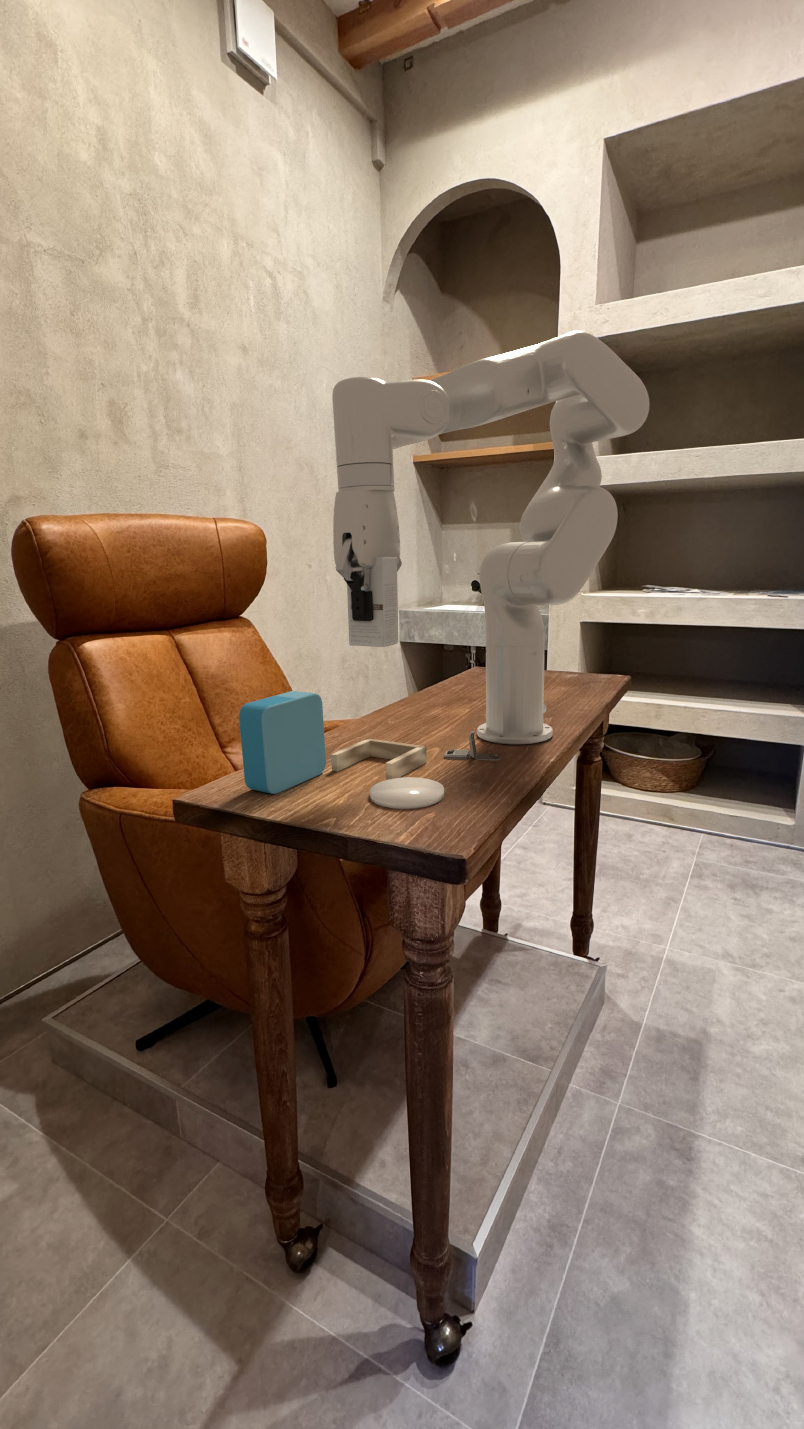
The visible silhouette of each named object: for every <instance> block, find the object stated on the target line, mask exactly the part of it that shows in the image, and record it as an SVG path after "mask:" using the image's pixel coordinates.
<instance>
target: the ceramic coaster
mask: <svg viewBox="0 0 804 1429" xmlns="http://www.w3.org/2000/svg"><path fill="white" fill-rule="evenodd" d="M444 797H445V787H444V785H443V784H442V783H440V782H438V781H436V780H433V779H430V778H423V777H411V776H408V777H406V776H405V777H399V778H394V779H389V780H386V779H385V780H382V781H380V782H377V783H376V784H374V785H373V786H371V787H370V788H369V799H370V800H371V801H372V803H374V804H376V805H378V806H380V807H383V808H390V809H394V810H395V809H396V810H412V809H420V808H424V807H430V806H432V805H435V804H437V803H439V802H441V801H442V800H443V799H444Z"/></svg>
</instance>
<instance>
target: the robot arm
mask: <svg viewBox="0 0 804 1429" xmlns="http://www.w3.org/2000/svg"><path fill="white" fill-rule="evenodd" d="M331 394H332V397H331V398H332V399H331V400H332V413H333V428H334V430H333V431H334V443H335V444H334V445H335V458H336V474H337V476H336V478H337V488H338V491H336V492H335V498H334V504H333V505H334V506H333V517H332V518H333V520H332V523H333V527H332V528H333V529H332V530H333V531H332V533H333V535H332V537H333V538H332V540H333V541H332V542H333V543H332V544H333V559H334V560H333V561H334V564H335V569H336V570H335V571H336V572H337V573H338V574H339V575H340V576H341V577H342V578H343V580H344V581H345V584H346V589H347V588H348V591H350V592H351V605H352V619H353V620H354V621H372V620H373V618H374V617H373V599H372V591H368V590H369V580H370V568H373V567H374V566H375V564H376V558H378V557H397V573H398V572H399V570H400V569H401V567H402V565H403V563H402V560H401V540H400V539H401V538H400V536H401V534H400V526H399V518H398V508H397V503H396V499H395V498H396V496H395V474H394V473H395V472H394V470H395V468H394V452H393V450H396V449H399V448H402V447H405V446H410V445H413V444H418V443H421V442H426V441H429V440H431V439H433V438H435V437H437V436H438V435H441V434H445V433H450V432H455V431H459V430H466V429H472V428H476V427H479V426H483V425H486V424H491V423H493V422H497V421H499V420H502V419H505V418H508V417H511V416H514V415H517V414H520V413H524V412H528V411H530V410H533V409H535V408H539V407H541V406H545V405H548V404H551V403H554V402H555V403H554V405H553V407H552V409H551V412H550V416H549V430H550V437H551V441H552V445H553V446H552V447H553V452H554V453H553V454H554V455H553V457H554V458H553V464H552V466H551V469H550V471H549V472H548V474H547V475H546V478H545V479H544V480H543V482H542V483H541V485H540V486H539V488H538V490H537V491H536V492H535V494H534V495H533V497H532V498H531V500H530V501H529V502H528V505H527V506H526V508H525V510H524V511H523V513H522V516H521V518H520V520H519V529H518V530H519V533H520V538H521V540H522V541H516V542H515V541H512V542H506V543H503V544H498V545H497V546H495V547H493V548H492V549H490V550H489V551H488V552H487V553H486V554H485V556H484V557H483V558H482V561H481V563H480V567H479V574H478V575H479V576H478V577H479V586H480V587H479V588H480V591H481V597H482V602H483V608H484V617H485V706H486V707H485V718H486V720H485V722H484V723H481V724H480V725H479V726H477V728H476V735H477V736H478V737H479V738H480V739H482V740H484V741H486V742H490V743H496V744H503V745H504V744H505V745H527V744H528V745H529V744H536V743H540V742H541V743H542V742H546V741H547V740H550V739H551V738H552V737H553V734H554V733H553V732H554V730H553V727H552V726H550V725H549V724H546V723H544V713H546V711H547V705H546V704H545V702H544V699H545V696H544V693H545V642H546V631H545V625H544V620H543V617H542V613H541V611H540V609H539V607H538V605H541V606H560V605H563V604H566V603H569V602H570V601H572V600H573V599H574V598H575V597H576V596H578V595H579V593H580V592H581V590H582V589H583V588H584V586H585V585H586V583H587V581H588V580H589V578H590V576H591V575H592V574H593V572H594V570H595V568H596V567H597V565H598V563H599V562H600V560H601V559H602V557H603V555H604V554H605V552H606V550H607V548H608V547H609V545H610V544H611V542H612V540H613V538H614V536H615V533H616V529H617V526H618V525H617V524H618V507H617V503H616V500H615V498H614V497H613V496H614V495H612V493H610V492H609V490H607V489H606V488H604V487H601V483H602V477H603V475H602V470H601V466H600V464H599V461H598V459H597V456H596V452H595V448H594V444H593V443H596V442H600V441H601V442H602V441H606V440H610V439H615V438H621V437H626V436H627V435H631V434H633V433H635V432H636V431H638V430H639V429H640V428H641V427H642V426H643V425H644V423H645V422H646V421H647V418H648V415H649V412H650V397H649V392H648V390H647V388H646V386H645V384H644V383H643V381H642V379H641V378H640V377H639V376H638V375H637V374H636V373H635V371H634V370H632V369H631V367H630V366H629V365H628V364H626V363H625V362H624V361H623V360H622V358H621V357H620V356H618V355H617V354H616V353H615V352H614V350H612V348H610V347H609V346H608V345H607V344H606V343H604V342H603V341H602V340H600V339H599V338H598V337H596V336H595V335H594V334H592V333H589V332H587V331H585V330H573V331H569V332H567V333H565V334H562V335H560V336H557V337H553V338H551V339H548V340H546V341H542V342H540V343H538V344H534V345H530V346H526V347H523V348H520V349H516V350H513V351H509V352H505V353H502V354H497V355H494V356H489V357H485V358H481V359H478V360H476V361H473V362H470V363H467V364H464V365H462V366H460V367H458V368H455V369H454V370H451V371H450V372H447V373H444V374H442V375H440V376H438V377H435V378H431V379H430V380H428V379H423V378H422V379H420V378H419V379H406V380H387V381H386V380H382V379H380V378H377V377H371V376H355V377H354V376H353V377H349V378H345V379H342V380H340V381H338V382H337V383H335V385H334V387H333V389H332V393H331ZM356 563H359V565H360V566H361V567H356ZM358 573H362V575H361V577H360V576H359V574H358ZM347 585H348V586H347Z"/></svg>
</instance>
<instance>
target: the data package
mask: <svg viewBox="0 0 804 1429" xmlns="http://www.w3.org/2000/svg"><path fill="white" fill-rule="evenodd" d="M323 708H324V707H323V700H322V696H320V694H318V693H316V692H308V691H300V690H299V691H296V690H291V691H287V692H284V693H280V694H276V695H272V696H269V697H265V698H262V699H258V700H254V701H251V702H247V703H245V704H243V705H242V706H241V707H240V710H239V713H238V721H239V732H240V743H241V756H242V764H243V776H244V783H245V785H246V788H248V789H249V790H254V791H258V792H263V793H267V794H272V795H277V794H279V793H281V792H282V793H283V792H284V791H286V790H289V789H291V788H292V787H296V786H298V785H300V784H302V783H304V782H307V781H309V780H311V779H314V778H315V777H317V776H319V775H321V774H322V773H323V772H325V771H324V770H325V769H326V764H327V756H326V742H325V741H326V740H325V738H326V737H325V725H324V709H323Z"/></svg>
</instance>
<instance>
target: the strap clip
mask: <svg viewBox="0 0 804 1429" xmlns="http://www.w3.org/2000/svg"><path fill="white" fill-rule="evenodd" d="M475 733H476V731H475V730H471V731H470V734H469V737H468V739H469V741H468V742H469V749H457V748H456V749H455V748H454V749H449V750H446V751H445V752H444V755H443V758H444V759H446V760H468V759H470V757H471V758H472V759H473V760H478V761H479V760H480V761H500V760H501V753H494V752H493V753H490V752H489V753H488V752H478V753H477V746H476V738H475ZM469 750H470V751H469ZM493 756H497V758H494V757H493Z"/></svg>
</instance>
